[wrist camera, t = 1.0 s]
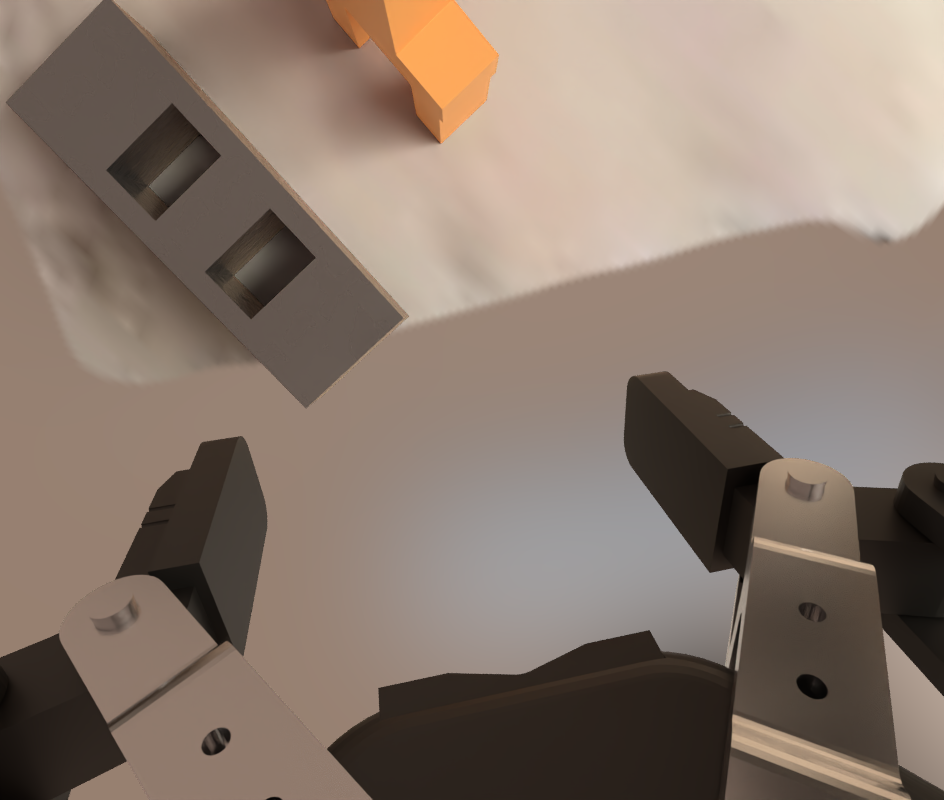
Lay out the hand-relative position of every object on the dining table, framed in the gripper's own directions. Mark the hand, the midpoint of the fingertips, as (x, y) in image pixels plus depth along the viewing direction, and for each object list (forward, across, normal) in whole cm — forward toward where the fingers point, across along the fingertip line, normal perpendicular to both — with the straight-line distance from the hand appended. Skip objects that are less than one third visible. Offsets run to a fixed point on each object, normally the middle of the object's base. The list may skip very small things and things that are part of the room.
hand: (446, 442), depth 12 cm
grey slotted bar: (+25, +8, 0) cm, 26 cm away
